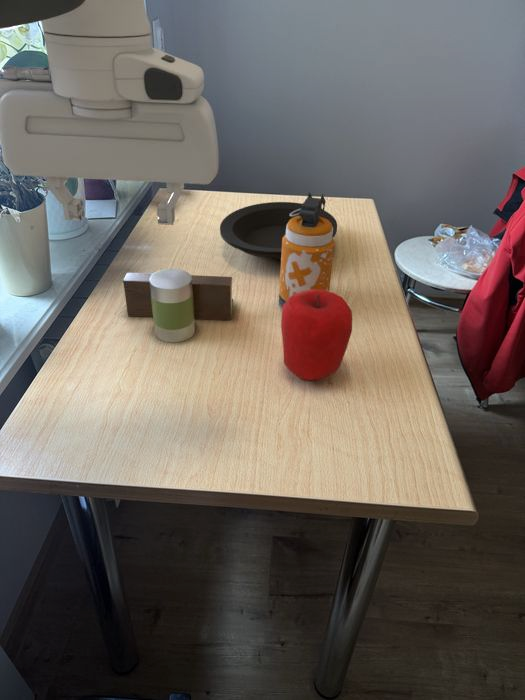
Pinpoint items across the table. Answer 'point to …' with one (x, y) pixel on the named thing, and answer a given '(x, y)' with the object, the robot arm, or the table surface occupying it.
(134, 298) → the brown wooden block
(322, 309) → the apple
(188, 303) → the can
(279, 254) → the plate
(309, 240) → the canister
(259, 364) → the table surface
